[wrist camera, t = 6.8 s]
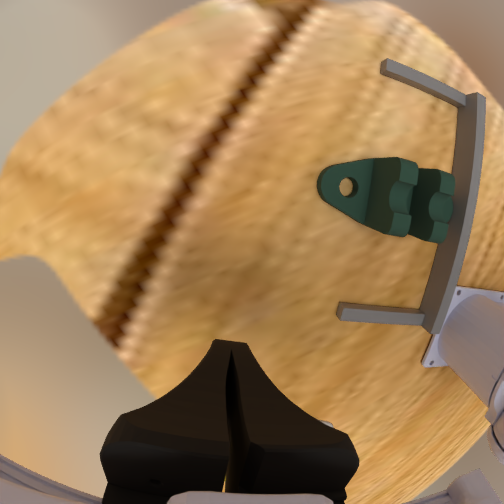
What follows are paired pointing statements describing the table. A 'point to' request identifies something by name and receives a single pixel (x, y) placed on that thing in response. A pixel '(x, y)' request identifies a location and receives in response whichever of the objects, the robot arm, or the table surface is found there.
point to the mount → (392, 196)
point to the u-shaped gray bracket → (462, 216)
